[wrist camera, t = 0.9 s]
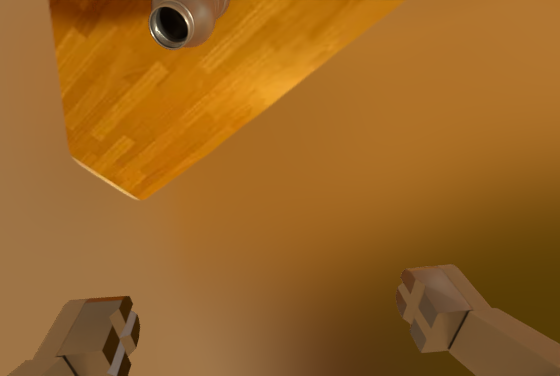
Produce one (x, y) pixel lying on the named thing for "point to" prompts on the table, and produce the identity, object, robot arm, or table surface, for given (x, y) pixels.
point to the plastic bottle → (184, 21)
